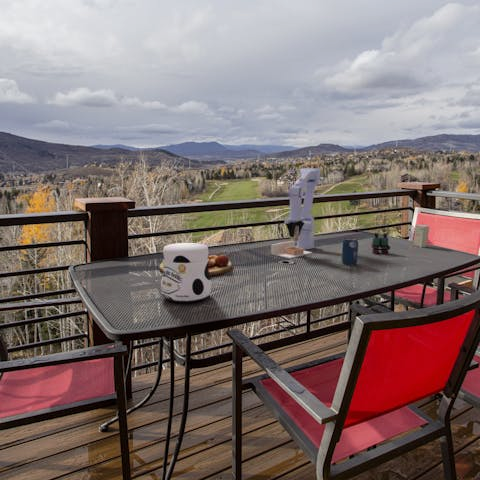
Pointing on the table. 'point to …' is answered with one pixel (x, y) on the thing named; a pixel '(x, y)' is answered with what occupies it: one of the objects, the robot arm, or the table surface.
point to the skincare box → (421, 235)
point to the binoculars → (380, 244)
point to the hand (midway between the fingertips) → (294, 236)
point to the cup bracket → (288, 250)
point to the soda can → (350, 251)
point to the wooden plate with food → (215, 264)
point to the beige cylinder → (295, 234)
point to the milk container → (185, 272)
